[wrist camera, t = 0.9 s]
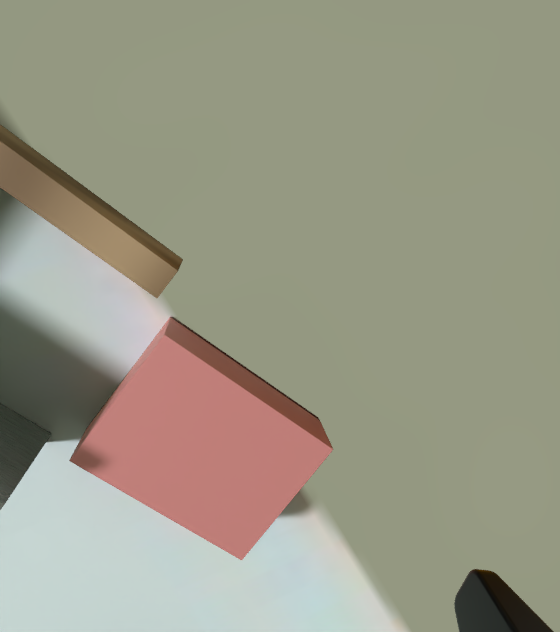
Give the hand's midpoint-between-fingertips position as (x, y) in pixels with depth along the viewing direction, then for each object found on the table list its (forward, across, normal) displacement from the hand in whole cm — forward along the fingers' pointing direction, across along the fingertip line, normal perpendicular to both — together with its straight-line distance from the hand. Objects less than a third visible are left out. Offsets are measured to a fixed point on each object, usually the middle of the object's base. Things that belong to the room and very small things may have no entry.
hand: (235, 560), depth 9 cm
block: (+12, 0, +6) cm, 14 cm away
